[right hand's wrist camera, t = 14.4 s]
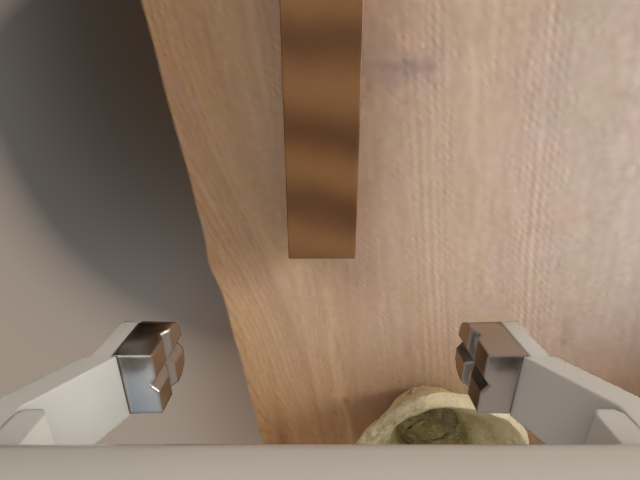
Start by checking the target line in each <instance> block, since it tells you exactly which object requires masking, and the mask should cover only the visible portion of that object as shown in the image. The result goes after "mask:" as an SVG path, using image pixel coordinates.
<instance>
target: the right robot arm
mask: <svg viewBox="0 0 640 480" xmlns="http://www.w3.org/2000/svg"><path fill="white" fill-rule="evenodd" d="M180 336H181V331H180V326H179V324H178V323H177V322H146V321H143V322H141V321H125V322H122V323H120V324H119V325H118V326H117V327H116V329H115V330H114V331H113V332H112V333H111V334H110V335H109V336H108V337H107V338H106V340H105V341H104V342H103V343H102V344H101V345H100V346H99V347H98V348H97V349H96V351H95V352H94V353H93V354H92V355H91V356H90V357H82V358H80V359H78V360H76V361H74V362H72V363H70V364H68V365H66V366H64V367H62V368H60V369H58V370H56V371H54V372H52V373H50V374H47V375H45V376H43V377H41V378H39V379H37V380H35V381H33V382H31V383H29V384H27V385H25V386H23V387H21V388H19V389H17V390H15V391H13V392H10V393H8V394H6V395H4V396H2V397H0V480H640V397H638V396H636V395H633V394H631V393H629V392H627V391H625V390H623V389H621V388H619V387H617V386H615V385H613V384H611V383H609V382H607V381H605V380H603V379H601V378H599V377H597V376H594V375H592V374H590V373H588V372H586V371H584V370H582V369H580V368H578V367H576V366H574V365H572V364H570V363H568V362H566V361H564V360H562V359H560V358H558V357H550V356H549V355H548V354H547V353H546V352H545V351H544V349H543V348H542V347H541V346H540V345H539V344H538V343H537V342H536V341H535V340H534V338H533V337H532V336H531V335H530V334H529V333H528V332H527V331H526V330H525V328H524V327H523V326H522V325H521V324H520V323H518V322H516V321H503V322H470V323H462V325H461V327H460V331H459V336H460V338H461V340H462V341H463V342H462V343H461V344H460V345H459V346H458V347H457V349H456V357H455V359H456V368H457V372H458V375H459V377H460V379H461V381H462V382H463V383H464V384H466V385H467V386H469V389H468V395H469V397H470V399H471V401H472V403H473V405H474V407H475V409H476V411H477V413H502V414H510V416H512V417H513V418H514V419H515V420H516V421H518V422H519V423H520V424H521V425H522V426H524V427H525V428H526V429H527V430H528V431H530V432H531V433H532V434H533V435H535V436H536V437H537V438H538V439H539V440H541V441H542V442H543V443H544V444H96V443H97V442H98V441H100V440H101V439H102V438H103V437H104V436H106V435H107V434H108V433H109V432H110V431H112V430H113V429H114V428H115V427H117V426H118V425H119V424H120V423H121V422H122V421H124V420H125V419H126V418H127V417H129V416H130V414H137V413H163V411H164V409H165V407H166V405H167V403H168V401H169V399H170V397H171V395H172V389H171V386H173V385H174V384H176V383H177V382H178V381H179V379H180V377H181V375H182V372H183V367H184V349H183V347H182V346H181V345H180V344H179V343H178V342H177V341H178V340H179V338H180Z"/></svg>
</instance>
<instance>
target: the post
mask: <svg viewBox="0 0 640 480" xmlns="http://www.w3.org/2000/svg"><path fill="white" fill-rule="evenodd" d="M363 12H364V0H280V28H281V56H282V83H283V111H284V139H285V167H286V195H287V222H288V250H289V258H355V244H356V215H357V186H358V157H359V128H360V99H361V70H362V41H363Z"/></svg>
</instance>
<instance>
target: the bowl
mask: <svg viewBox="0 0 640 480" xmlns="http://www.w3.org/2000/svg"><path fill="white" fill-rule="evenodd" d="M355 444H529V439H528V434H527V432H526V430H525V428H524V426H522V425H521V424H520V423H519V422H518V421H516V420H515V419H514V418H513V417H512V416H510V414H502V413H477V411H476V409H475V407H474V405H473V403H472V401H471V399H470V397H469V395H468V394H461V393H454V392H451V391H447V390H445V389H443V388H440V387H432V386H420V387H414V388H411V389H409V390H408V391H406V392H404V393H402V394H401V395H400V396H398V397H397V398H396V399H395V400H394V401H393V403H392V404H391V406H390V407H389V408H388V410H386V411H385V413H383V414H382V415H381V417H380V418H379V419H377V420H375V421H374V422H373V423H372V424H371V425H370V426H369V427H367V428H366V429H365V431H364V432H363V434H362V435H361V437H360V439H359V440H358V441H357V442H356V443H355Z"/></svg>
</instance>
